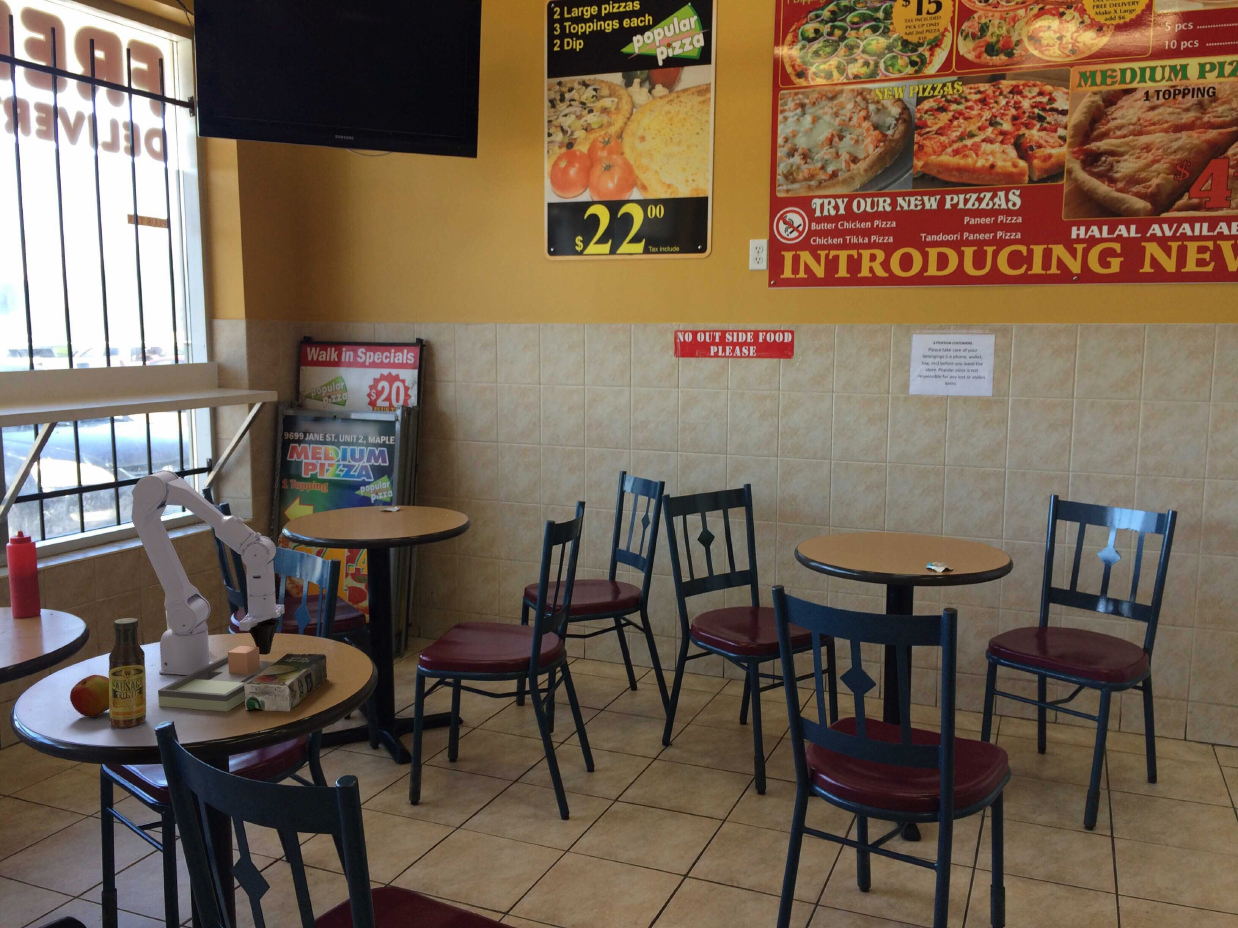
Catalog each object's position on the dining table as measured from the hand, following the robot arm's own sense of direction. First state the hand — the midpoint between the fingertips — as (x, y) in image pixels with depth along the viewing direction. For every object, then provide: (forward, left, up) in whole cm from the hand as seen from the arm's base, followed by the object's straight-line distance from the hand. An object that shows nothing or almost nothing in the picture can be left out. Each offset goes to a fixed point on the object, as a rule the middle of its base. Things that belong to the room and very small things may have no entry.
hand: (264, 653), depth 218 cm
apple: (-16, -32, -3) cm, 36 cm away
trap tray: (0, -13, -3) cm, 14 cm away
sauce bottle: (-7, -34, -3) cm, 35 cm away
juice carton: (+14, -14, -4) cm, 20 cm away
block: (0, -8, -1) cm, 8 cm away
